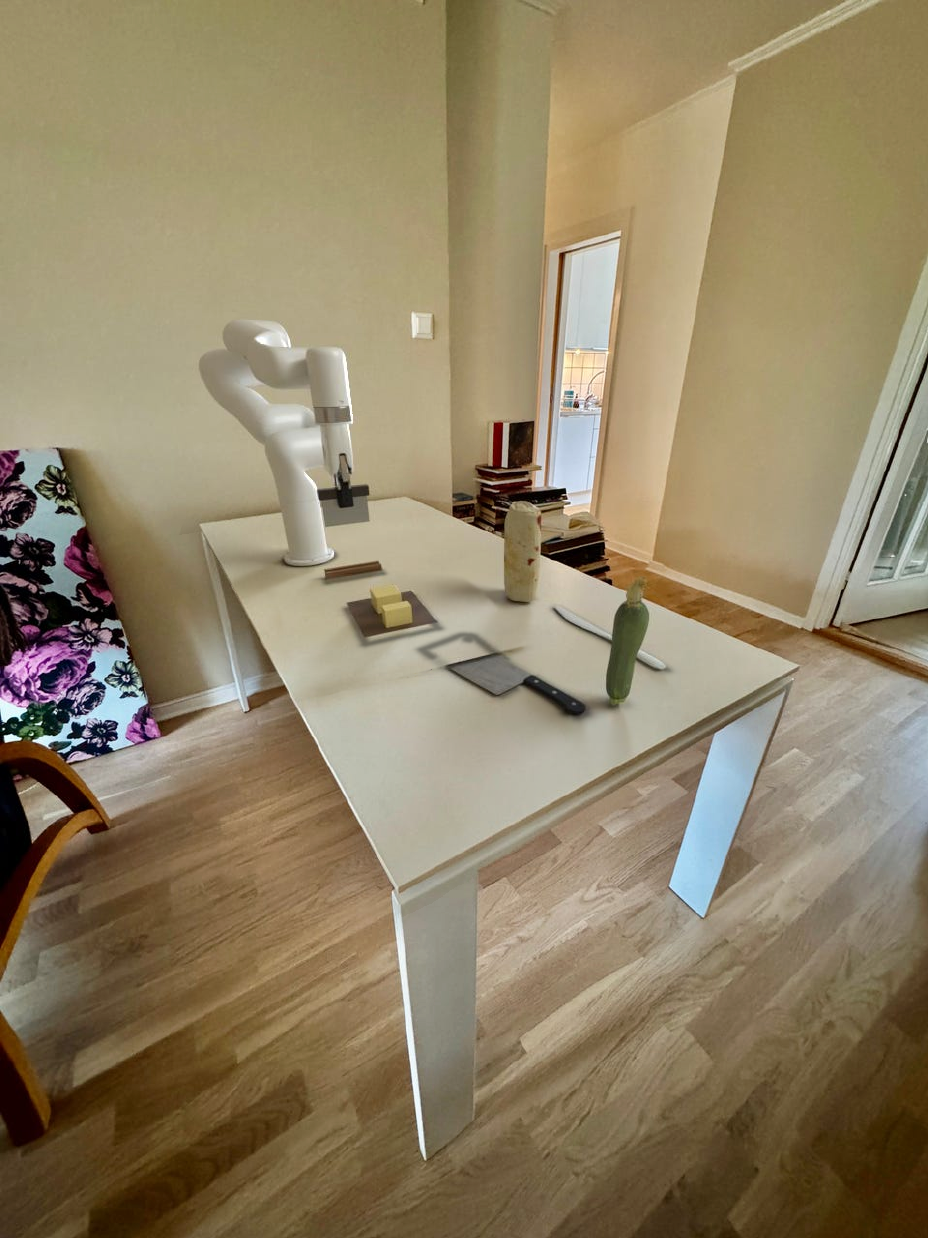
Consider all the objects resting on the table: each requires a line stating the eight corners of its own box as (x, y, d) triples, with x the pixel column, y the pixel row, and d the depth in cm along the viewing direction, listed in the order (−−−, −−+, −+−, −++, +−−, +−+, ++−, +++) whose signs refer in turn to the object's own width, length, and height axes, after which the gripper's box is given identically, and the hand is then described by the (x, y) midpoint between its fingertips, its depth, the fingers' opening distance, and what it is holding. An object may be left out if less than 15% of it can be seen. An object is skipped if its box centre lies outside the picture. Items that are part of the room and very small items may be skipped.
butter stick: (371, 604, 97) (369, 588, 96) (395, 599, 99) (394, 583, 97) (377, 614, 93) (375, 597, 92) (402, 609, 95) (401, 593, 93)
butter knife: (655, 670, 76) (668, 664, 77) (548, 608, 97) (560, 603, 98) (655, 673, 76) (668, 667, 77) (548, 610, 97) (560, 606, 98)
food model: (545, 602, 100) (552, 507, 91) (518, 608, 98) (521, 511, 88) (521, 585, 108) (525, 496, 99) (495, 591, 106) (496, 500, 96)
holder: (325, 578, 114) (324, 569, 112) (379, 570, 118) (378, 560, 117) (327, 583, 111) (326, 573, 110) (382, 574, 116) (381, 564, 114)
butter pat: (382, 622, 90) (381, 605, 88) (408, 617, 92) (407, 600, 90) (386, 628, 88) (384, 611, 86) (412, 622, 90) (411, 605, 88)
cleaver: (542, 738, 63) (592, 707, 68) (543, 734, 63) (592, 704, 68) (421, 649, 84) (466, 631, 89) (421, 647, 84) (466, 629, 89)
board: (347, 608, 99) (346, 602, 98) (412, 596, 104) (411, 590, 103) (365, 644, 86) (364, 637, 85) (438, 628, 91) (438, 621, 90)
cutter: (322, 526, 107) (316, 489, 103) (370, 519, 111) (366, 483, 107) (323, 528, 106) (317, 490, 102) (372, 521, 110) (368, 485, 106)
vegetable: (598, 693, 72) (615, 568, 63) (626, 691, 72) (648, 566, 63) (609, 711, 68) (629, 581, 59) (638, 709, 68) (663, 579, 59)
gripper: (309, 414, 103) (322, 500, 112) (320, 420, 90) (334, 516, 99) (344, 412, 106) (354, 496, 114) (360, 418, 93) (370, 512, 101)
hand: (345, 505), depth 106 cm, fingers closed on cutter, 1 cm apart
